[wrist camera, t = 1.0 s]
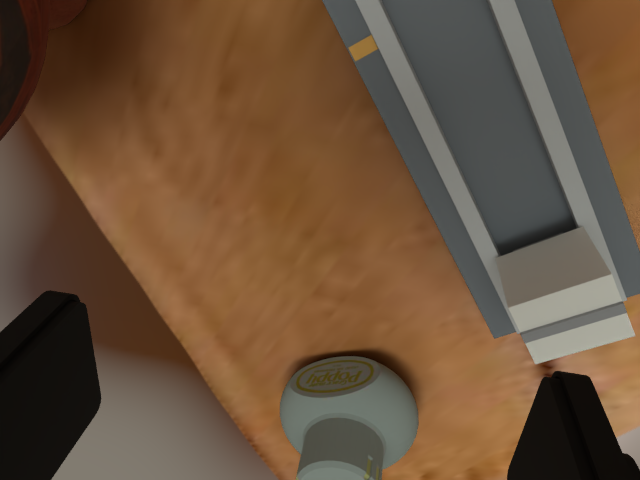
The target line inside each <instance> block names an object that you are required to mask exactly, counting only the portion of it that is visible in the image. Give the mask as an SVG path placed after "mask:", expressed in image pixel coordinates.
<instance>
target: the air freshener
mask: <svg viewBox="0 0 640 480" xmlns="http://www.w3.org/2000/svg"><path fill="white" fill-rule="evenodd" d="M280 418H281V423H282V427H283V429H284V432H285V434H286V436H287V438H288V439H289V441H290V442H291V444H292V445H293V447H294V448H295V449H296V450H297V451H298V452H299V453H300V454H301V457H300V462H299V467H298V471H297V476H296V480H382V469H385V468H387V467H389V466H391V465H392V464H394V463H396V462H397V461H398V460H399V459H400V458H402V457H403V456H404V455H405V454H406V452H407V451H408V450H409V448H410V447H411V445H412V444H413V441H414V439H415V437H416V434H417V429H418V409H417V406H416V402H415V399H414V397H413V395H412V393H411V391H410V389H409V388H408V387H407V385H406V384H405V383H404V381H403V380H402V379H401V378H400V377H399V376H398V375H396V374H395V373H394V372H393V371H392V370H390V369H389V368H387V367H386V366H384V365H382V364H380V363H378V362H376V361H374V360H371V359H368V358H364V357H357V356H342V357H334V358H328V359H324V360H320V361H317V362H314V363H312V364H309V365H307V366H305V367H304V368H302V369H300V370H299V371H297V372H296V373H295V374H294V375H293V376H292V378H291V379H290V380H289V381H288V383H287V385H286V387H285V389H284V391H283V394H282V398H281V402H280Z"/></svg>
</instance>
